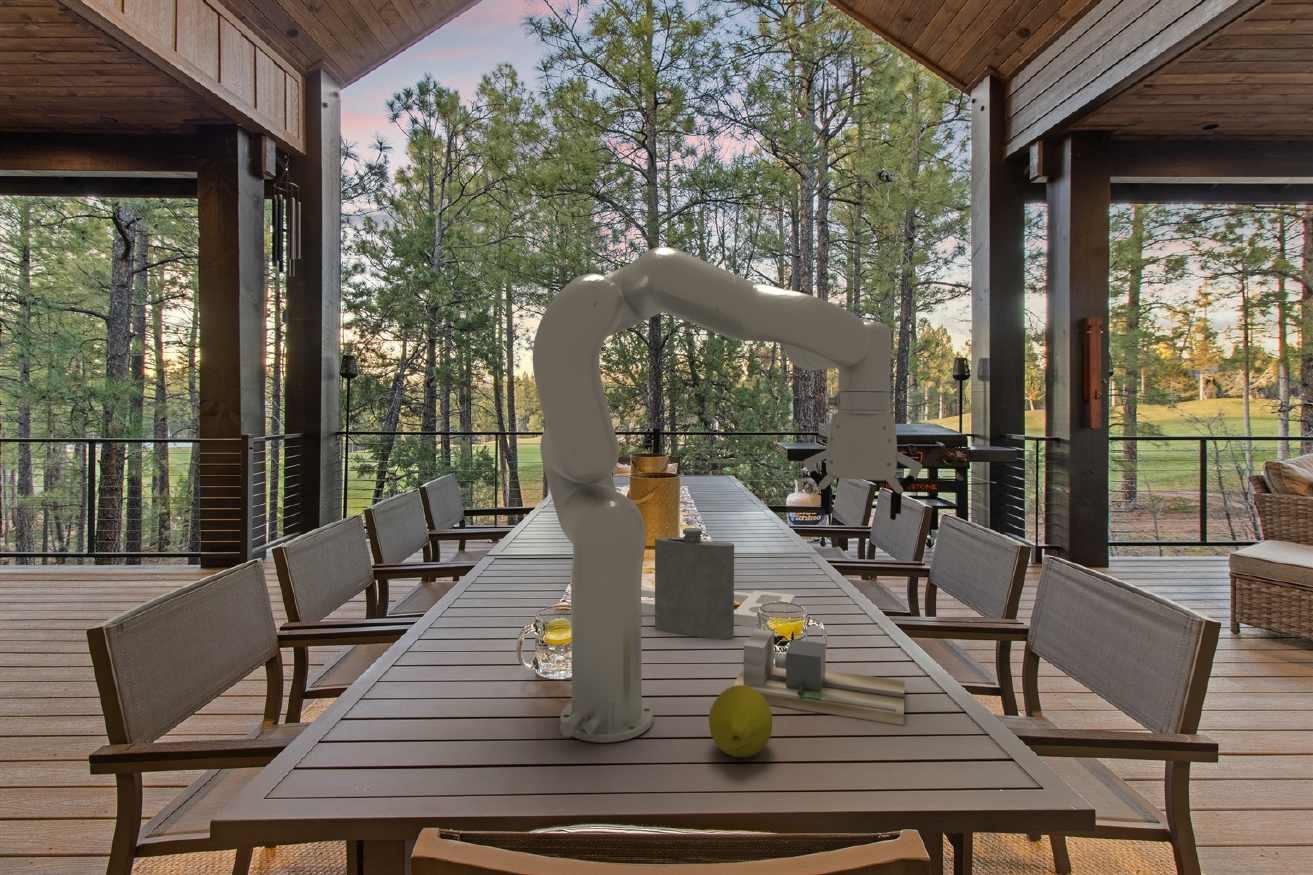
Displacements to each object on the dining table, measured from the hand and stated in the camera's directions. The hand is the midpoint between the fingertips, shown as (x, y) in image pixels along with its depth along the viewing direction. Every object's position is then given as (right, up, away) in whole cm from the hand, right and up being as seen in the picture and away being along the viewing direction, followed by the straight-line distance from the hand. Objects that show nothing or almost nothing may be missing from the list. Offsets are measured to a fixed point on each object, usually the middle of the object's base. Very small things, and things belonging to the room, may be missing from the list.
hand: (860, 516), depth 104 cm
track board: (-7, -26, -3) cm, 27 cm away
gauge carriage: (-10, -25, -3) cm, 27 cm away
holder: (-25, -25, +44) cm, 56 cm away
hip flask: (-24, -25, +25) cm, 43 cm away
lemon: (-21, -27, -20) cm, 40 cm away
